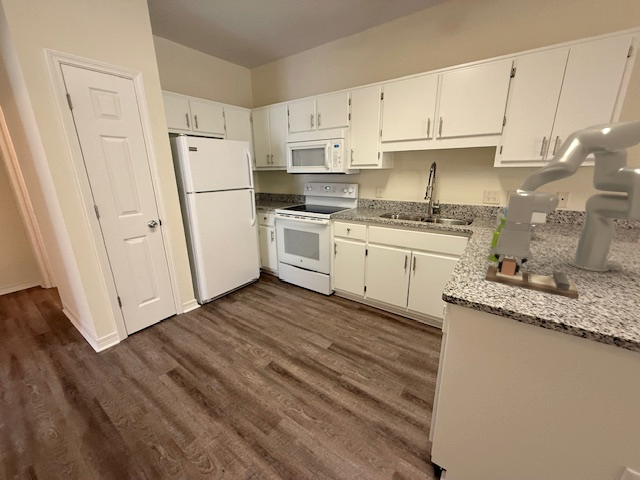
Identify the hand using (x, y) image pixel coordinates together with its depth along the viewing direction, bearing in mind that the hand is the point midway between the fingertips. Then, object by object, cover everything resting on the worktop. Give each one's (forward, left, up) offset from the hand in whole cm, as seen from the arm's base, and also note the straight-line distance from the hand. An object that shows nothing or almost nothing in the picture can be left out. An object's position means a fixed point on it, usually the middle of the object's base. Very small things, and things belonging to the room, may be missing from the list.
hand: (507, 271), depth 102 cm
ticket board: (-7, 0, -2) cm, 7 cm away
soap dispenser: (+4, -23, -3) cm, 24 cm away
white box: (-3, -80, -3) cm, 80 cm away
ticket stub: (-1, 0, -1) cm, 1 cm away
